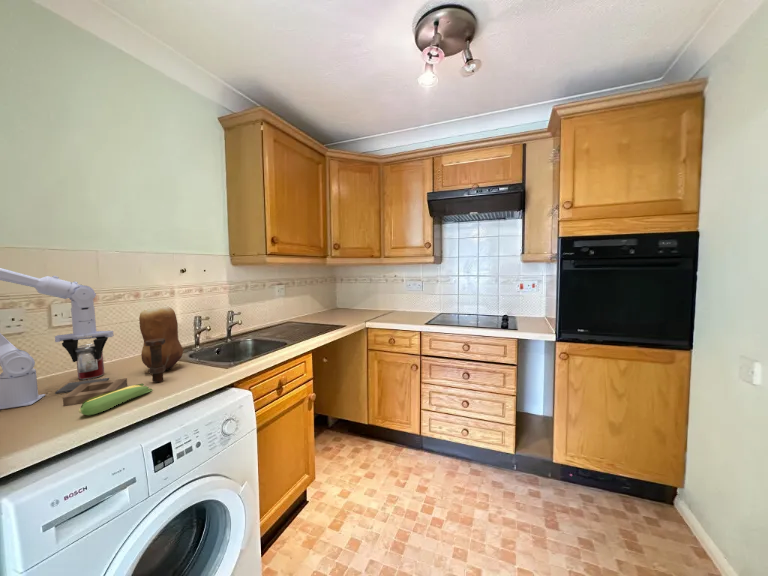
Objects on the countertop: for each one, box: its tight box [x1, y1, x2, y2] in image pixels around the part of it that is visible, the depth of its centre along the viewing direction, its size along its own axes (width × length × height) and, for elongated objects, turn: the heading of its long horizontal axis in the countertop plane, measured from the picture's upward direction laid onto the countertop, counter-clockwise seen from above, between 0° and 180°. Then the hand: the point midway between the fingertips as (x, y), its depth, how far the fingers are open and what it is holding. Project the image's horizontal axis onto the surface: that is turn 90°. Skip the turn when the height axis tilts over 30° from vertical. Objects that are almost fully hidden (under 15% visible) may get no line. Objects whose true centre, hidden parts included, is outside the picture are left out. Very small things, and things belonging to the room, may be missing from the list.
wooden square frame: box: [62, 377, 128, 407], centre depth 100 cm, size 12×12×2 cm
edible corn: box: [78, 383, 154, 416], centre depth 93 cm, size 5×20×5 cm, turn 165°
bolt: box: [145, 338, 166, 384], centre depth 111 cm, size 6×5×15 cm
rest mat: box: [55, 377, 110, 395], centre depth 108 cm, size 11×9×1 cm
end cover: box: [75, 346, 98, 373], centre depth 106 cm, size 6×6×8 cm
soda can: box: [76, 342, 105, 381], centre depth 117 cm, size 7×7×12 cm
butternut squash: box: [138, 306, 184, 371], centre depth 123 cm, size 14×13×25 cm
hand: (87, 360), depth 107 cm, fingers closed on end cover, 5 cm apart
